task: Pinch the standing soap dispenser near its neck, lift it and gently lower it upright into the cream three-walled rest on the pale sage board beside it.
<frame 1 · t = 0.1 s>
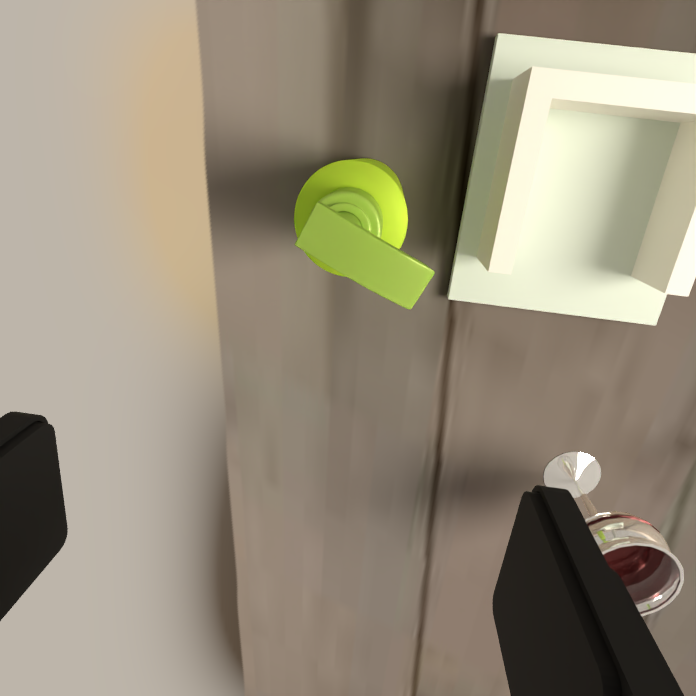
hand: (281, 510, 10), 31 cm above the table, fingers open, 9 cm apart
u rest: (578, 190, 36), on the table
wineglass: (571, 474, 45), on the table
soap dispenser: (370, 203, 38), on the table
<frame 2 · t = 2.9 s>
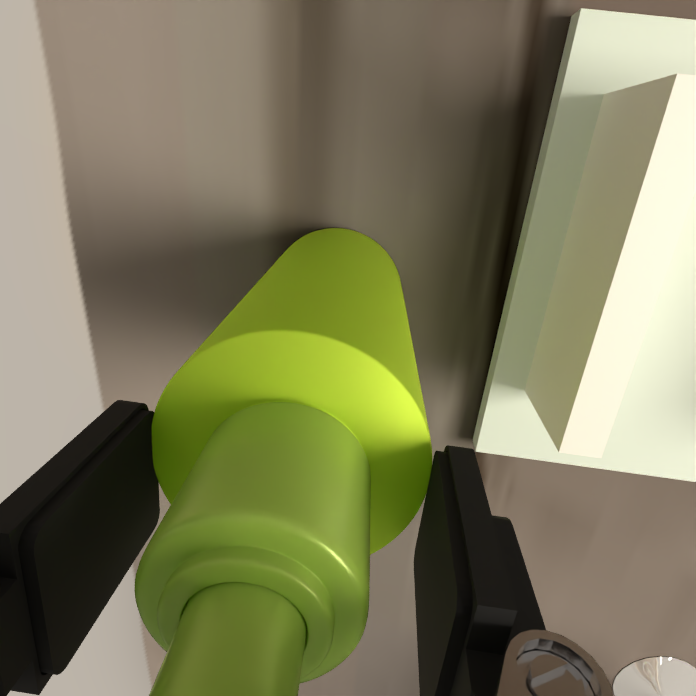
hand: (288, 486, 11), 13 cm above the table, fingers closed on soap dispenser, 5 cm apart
wineglass: (655, 682, 30), on the table
soap dispenser: (346, 298, 23), on the table, touching gripper
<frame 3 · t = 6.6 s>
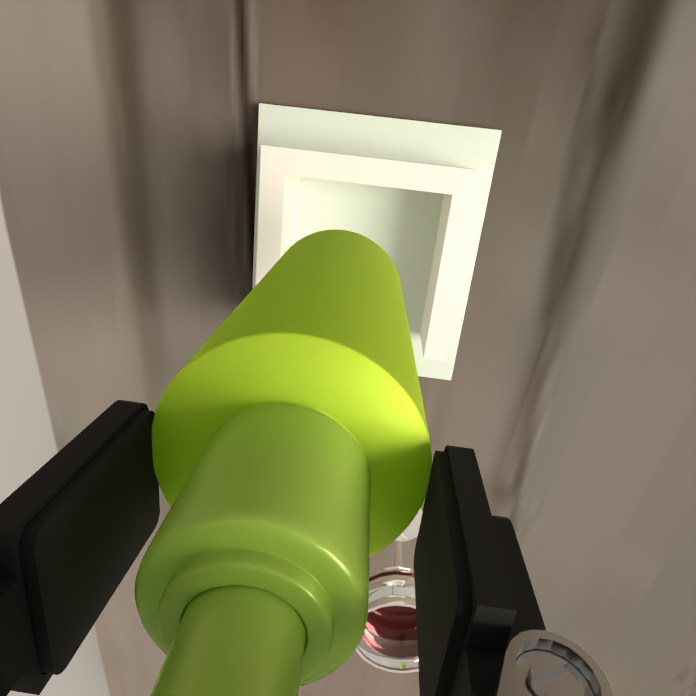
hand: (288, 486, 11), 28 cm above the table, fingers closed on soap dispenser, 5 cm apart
u rest: (363, 250, 37), on the table
wineglass: (397, 518, 45), on the table
soap dispenser: (346, 299, 23), point 15 cm above the table, touching gripper
when the fingers open (15 cm above the table, at t = 10.2 s): soap dispenser drops 1 cm, resting on u rest.
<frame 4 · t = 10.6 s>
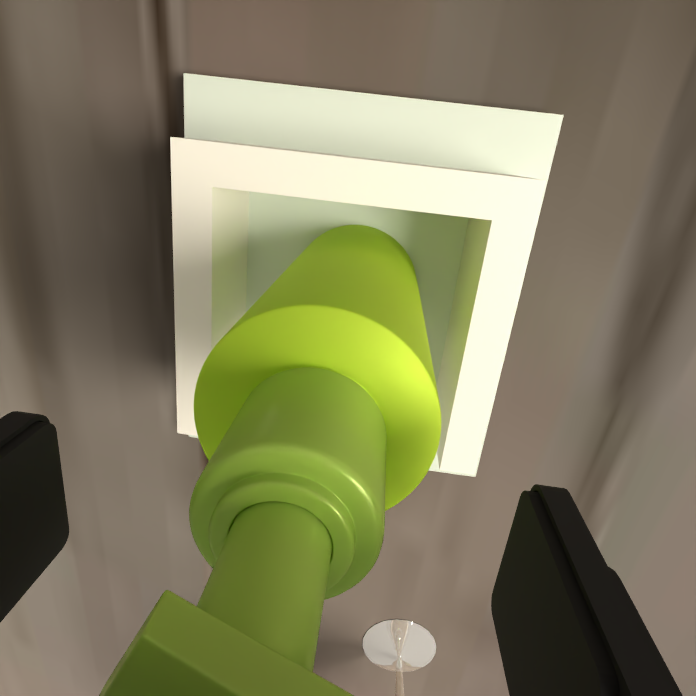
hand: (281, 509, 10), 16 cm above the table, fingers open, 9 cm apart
u rest: (349, 294, 25), on the table
wineglass: (399, 643, 34), on the table
soap dispenser: (364, 291, 24), point 1 cm above the table, touching u rest
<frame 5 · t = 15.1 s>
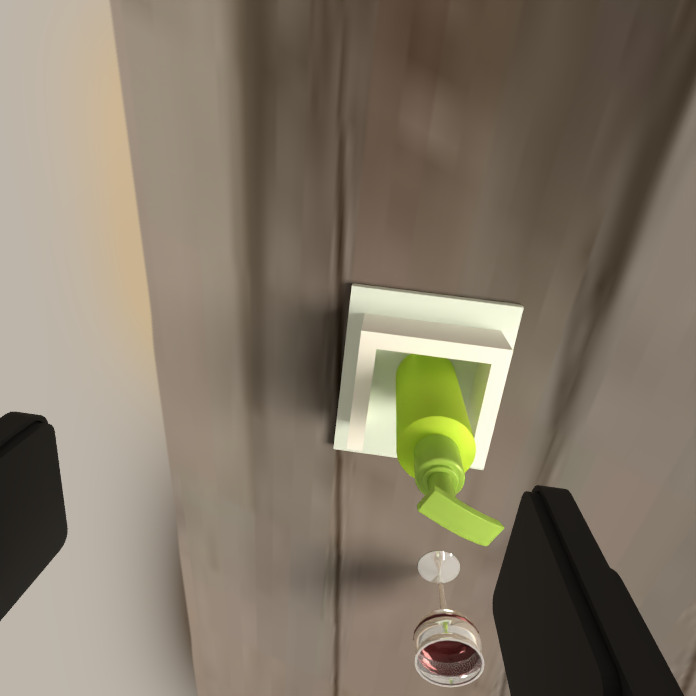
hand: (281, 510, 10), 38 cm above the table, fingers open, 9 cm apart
u rest: (420, 379, 50), on the table
wineglass: (438, 566, 59), on the table
soap dispenser: (429, 379, 49), point 1 cm above the table, touching u rest
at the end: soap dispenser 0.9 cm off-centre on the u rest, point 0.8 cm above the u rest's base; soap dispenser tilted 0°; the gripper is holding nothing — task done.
